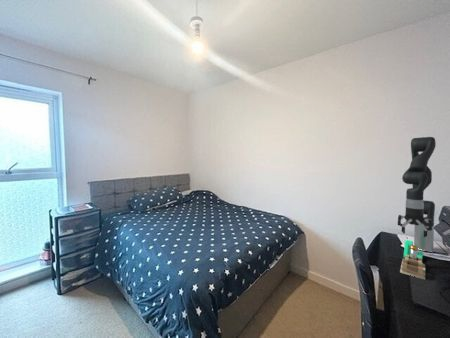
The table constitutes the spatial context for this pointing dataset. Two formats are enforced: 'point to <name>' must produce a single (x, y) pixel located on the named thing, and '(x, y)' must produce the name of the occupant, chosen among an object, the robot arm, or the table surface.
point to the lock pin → (413, 252)
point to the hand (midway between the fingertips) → (413, 235)
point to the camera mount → (407, 249)
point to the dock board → (413, 267)
